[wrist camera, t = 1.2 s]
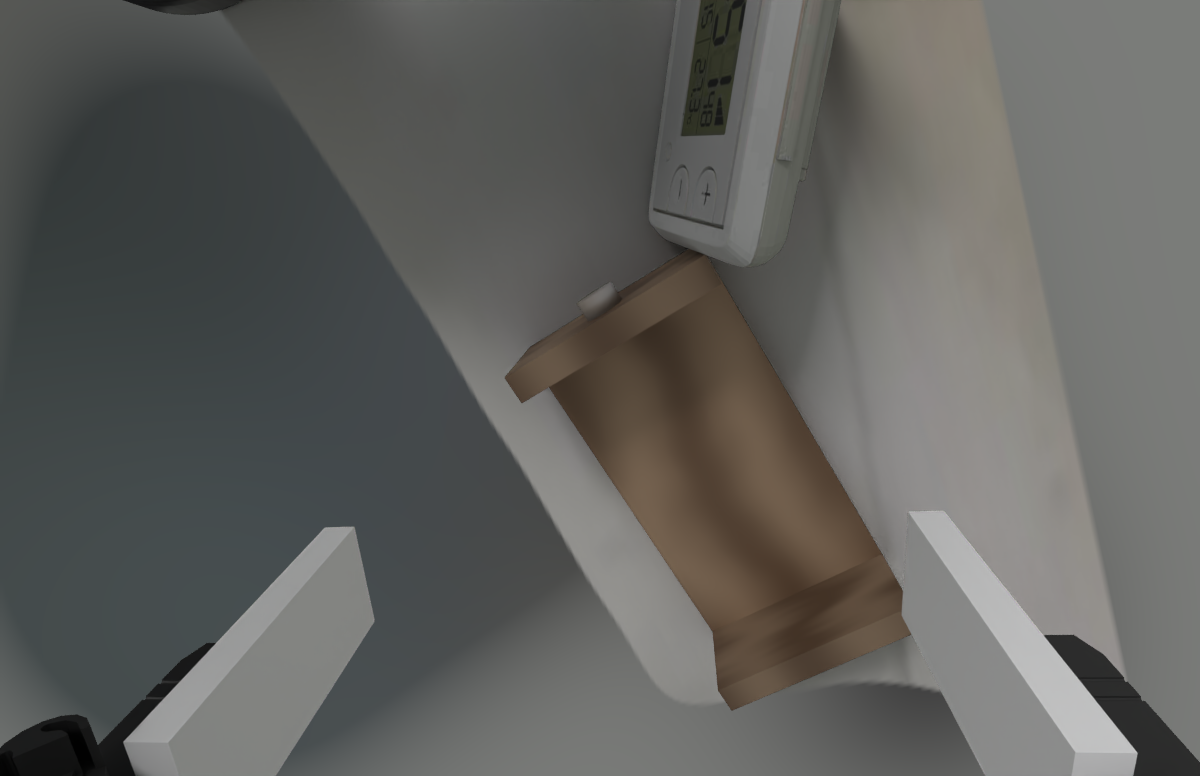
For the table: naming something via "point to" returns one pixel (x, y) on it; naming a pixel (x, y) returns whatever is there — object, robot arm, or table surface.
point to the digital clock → (738, 123)
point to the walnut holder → (720, 476)
